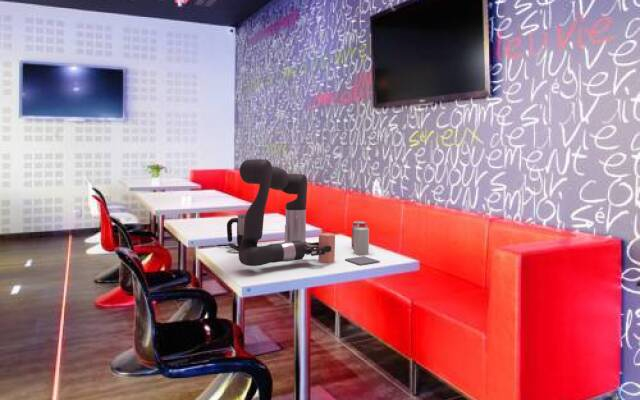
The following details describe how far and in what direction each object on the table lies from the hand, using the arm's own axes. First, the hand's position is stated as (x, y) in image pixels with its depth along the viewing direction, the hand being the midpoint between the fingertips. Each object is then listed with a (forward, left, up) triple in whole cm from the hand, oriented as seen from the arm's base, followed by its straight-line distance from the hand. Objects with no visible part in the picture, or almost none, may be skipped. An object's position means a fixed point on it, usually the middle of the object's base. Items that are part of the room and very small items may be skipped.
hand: (324, 246), depth 201 cm
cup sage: (-4, +22, -6) cm, 23 cm away
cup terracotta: (0, +1, -6) cm, 6 cm away
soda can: (-13, +28, -6) cm, 31 cm away
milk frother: (-37, -18, -6) cm, 42 cm away
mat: (+8, +13, -6) cm, 16 cm away
